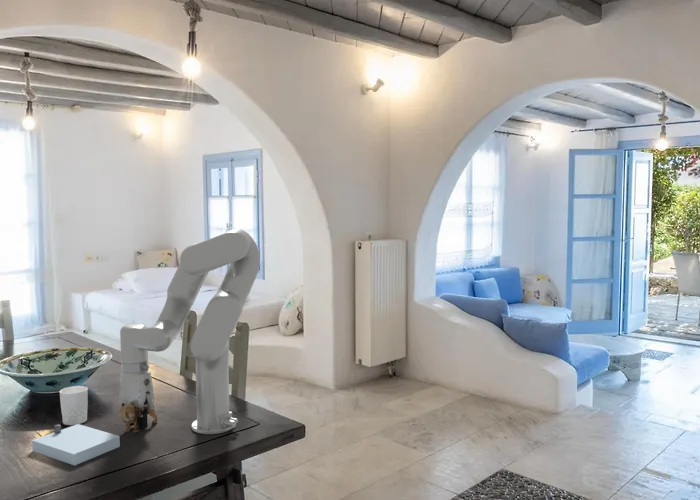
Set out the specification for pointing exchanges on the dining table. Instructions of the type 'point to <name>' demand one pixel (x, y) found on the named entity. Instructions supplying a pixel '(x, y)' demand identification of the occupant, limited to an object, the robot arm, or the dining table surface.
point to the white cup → (74, 404)
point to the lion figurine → (133, 416)
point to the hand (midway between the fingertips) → (136, 426)
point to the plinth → (75, 444)
